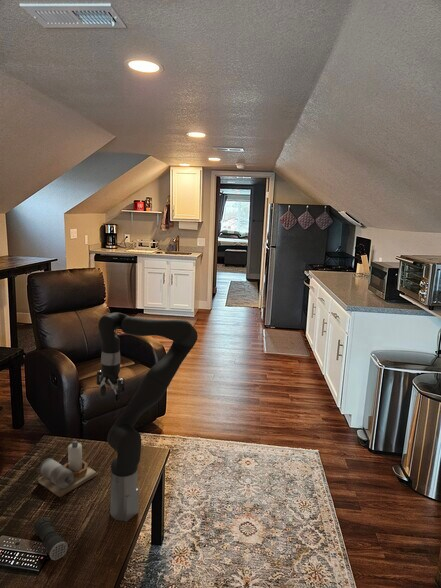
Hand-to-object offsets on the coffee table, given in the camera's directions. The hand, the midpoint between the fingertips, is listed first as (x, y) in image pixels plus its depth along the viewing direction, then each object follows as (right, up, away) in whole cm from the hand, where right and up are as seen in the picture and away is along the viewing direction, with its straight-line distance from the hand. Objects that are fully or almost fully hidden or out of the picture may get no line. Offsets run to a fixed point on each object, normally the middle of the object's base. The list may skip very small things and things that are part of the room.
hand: (110, 398), depth 170 cm
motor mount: (-16, -31, -5) cm, 35 cm away
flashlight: (-9, -38, -37) cm, 54 cm away
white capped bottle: (-13, -29, -3) cm, 32 cm away
